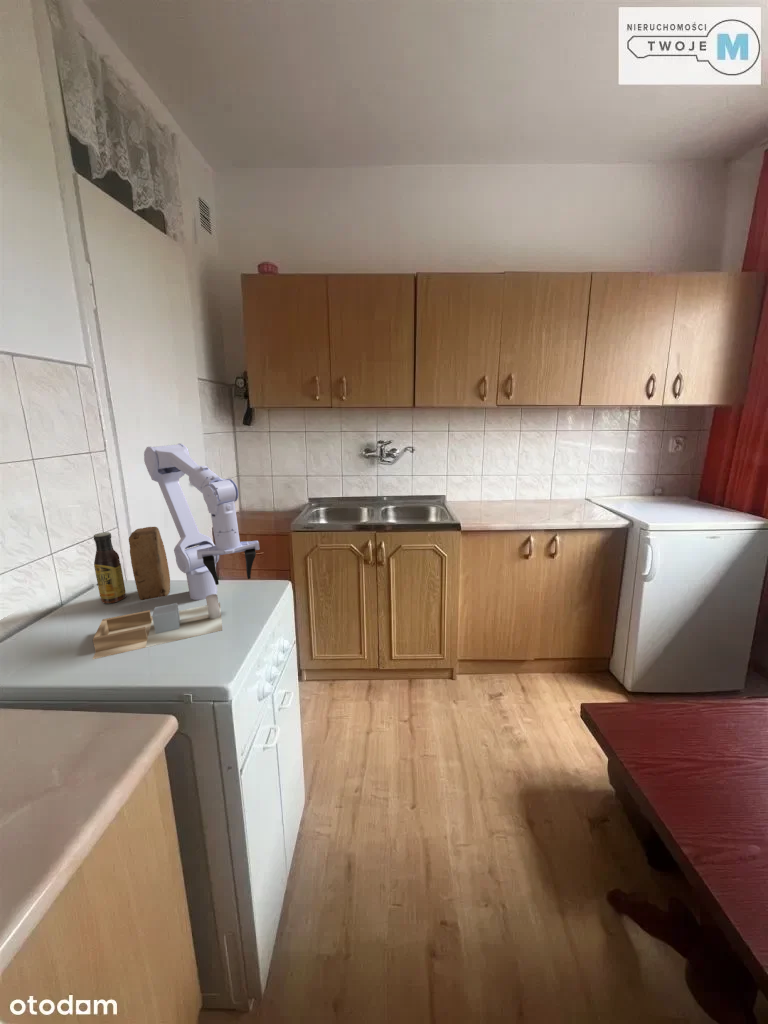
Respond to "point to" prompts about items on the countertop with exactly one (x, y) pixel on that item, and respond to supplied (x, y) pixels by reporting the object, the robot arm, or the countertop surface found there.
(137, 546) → the block
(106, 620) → the shelf lane
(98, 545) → the sauce bottle
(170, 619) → the block
